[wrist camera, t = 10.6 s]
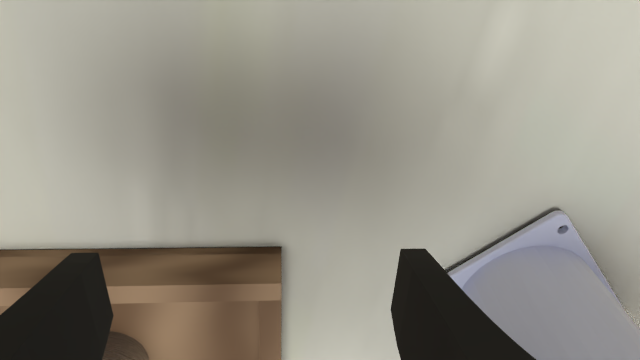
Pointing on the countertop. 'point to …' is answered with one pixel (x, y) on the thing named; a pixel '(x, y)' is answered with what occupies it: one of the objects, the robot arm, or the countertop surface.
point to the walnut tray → (177, 297)
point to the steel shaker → (123, 348)
